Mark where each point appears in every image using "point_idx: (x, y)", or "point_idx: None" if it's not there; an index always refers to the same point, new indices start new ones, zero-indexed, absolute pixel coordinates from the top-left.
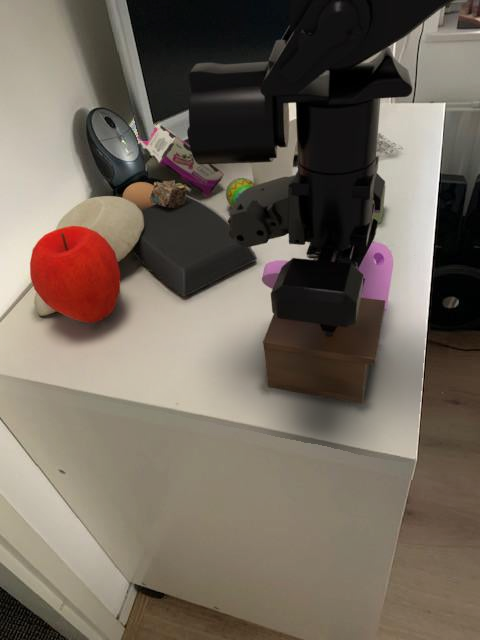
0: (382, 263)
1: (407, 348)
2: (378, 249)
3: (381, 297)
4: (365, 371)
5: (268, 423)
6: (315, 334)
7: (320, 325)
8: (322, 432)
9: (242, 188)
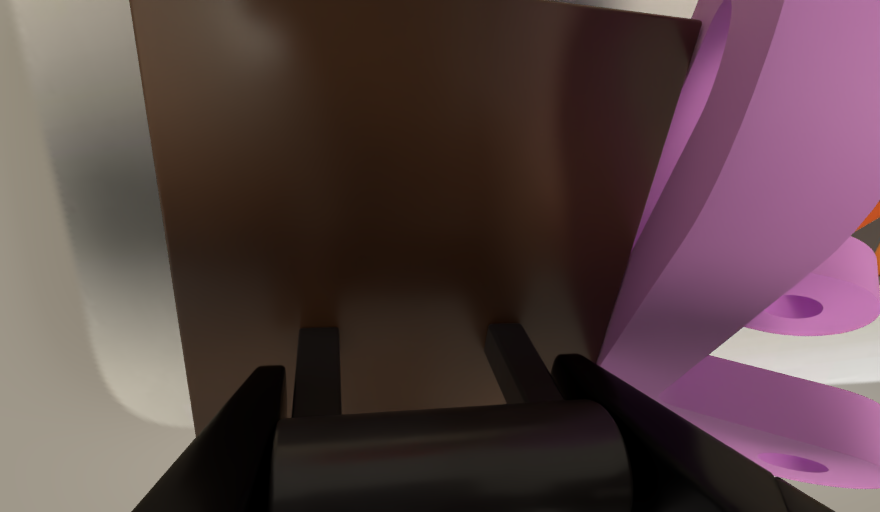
0: (769, 454)
1: None
2: (846, 474)
3: None
4: None
5: (23, 8)
6: (297, 283)
7: (229, 400)
8: (82, 220)
9: None
